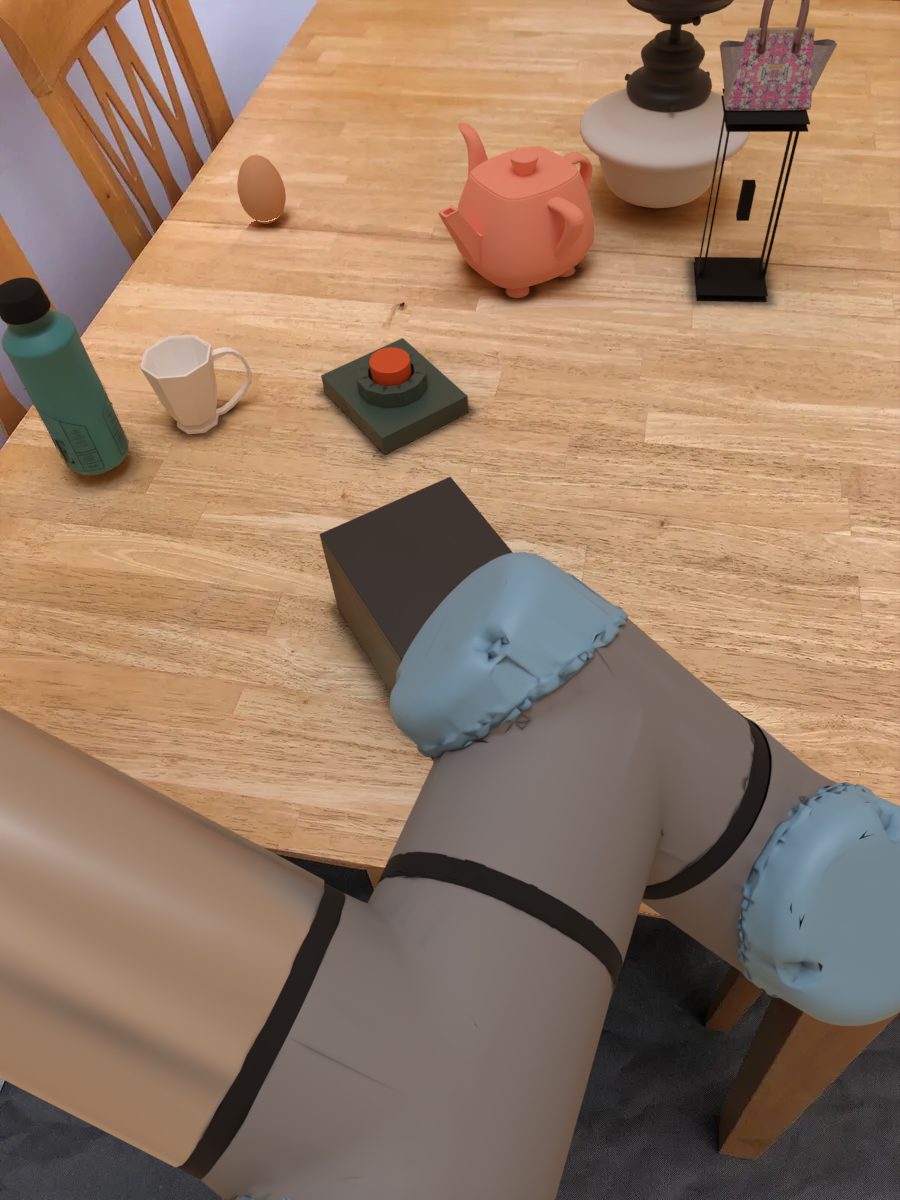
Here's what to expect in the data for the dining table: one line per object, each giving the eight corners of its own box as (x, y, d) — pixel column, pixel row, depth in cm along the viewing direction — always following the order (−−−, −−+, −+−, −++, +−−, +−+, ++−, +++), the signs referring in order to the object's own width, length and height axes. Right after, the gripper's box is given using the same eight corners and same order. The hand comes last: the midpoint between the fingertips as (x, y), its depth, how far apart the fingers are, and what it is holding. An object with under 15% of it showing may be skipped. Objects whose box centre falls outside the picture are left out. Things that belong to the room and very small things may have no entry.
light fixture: (767, 220, 111) (821, -21, 91) (622, 262, 108) (646, 20, 88) (682, 150, 123) (714, -78, 103) (549, 185, 119) (556, -44, 99)
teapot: (443, 305, 104) (435, 190, 94) (463, 225, 115) (457, 113, 104) (587, 310, 102) (595, 193, 92) (594, 228, 112) (602, 114, 102)
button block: (324, 392, 96) (317, 360, 93) (404, 354, 99) (401, 323, 96) (384, 455, 90) (379, 423, 87) (468, 412, 93) (467, 381, 90)
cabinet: (540, 663, 74) (543, 588, 66) (412, 729, 71) (400, 658, 63) (456, 554, 81) (450, 475, 74) (338, 609, 78) (319, 533, 71)
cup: (156, 411, 96) (131, 346, 89) (248, 381, 98) (229, 315, 92) (174, 452, 92) (148, 387, 85) (269, 419, 94) (251, 354, 88)
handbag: (683, 300, 102) (733, -6, 79) (681, 262, 107) (727, -38, 83) (781, 302, 101) (862, -9, 78) (774, 263, 106) (848, -41, 82)
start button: (364, 372, 92) (361, 357, 91) (397, 356, 93) (395, 342, 92) (385, 392, 90) (382, 378, 89) (419, 376, 91) (417, 361, 90)
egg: (294, 209, 119) (281, 144, 113) (285, 233, 116) (271, 168, 109) (251, 209, 120) (236, 144, 113) (241, 233, 116) (224, 168, 110)
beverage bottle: (149, 452, 92) (73, 272, 76) (108, 496, 88) (19, 318, 73) (97, 436, 94) (12, 258, 78) (55, 479, 90) (-43, 301, 75)
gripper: (553, 941, 42) (415, 809, 65) (774, 807, 46) (570, 726, 68) (491, 798, 41) (372, 714, 64) (723, 671, 44) (532, 634, 67)
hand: (475, 720), depth 66 cm, fingers closed
